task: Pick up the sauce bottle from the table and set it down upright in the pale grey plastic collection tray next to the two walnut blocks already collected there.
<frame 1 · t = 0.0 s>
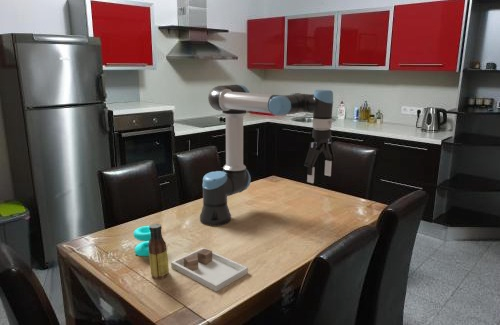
hand: (319, 178, 163), 28 cm above the table, fingers open, 13 cm apart
walnut block B: (191, 268, 145), point 1 cm above the table, touching tray
tray: (209, 272, 144), on the table
walnut block A: (205, 261, 150), point 1 cm above the table, touching tray
sauce bottle: (159, 277, 140), on the table
donuts: (147, 252, 158), on the table
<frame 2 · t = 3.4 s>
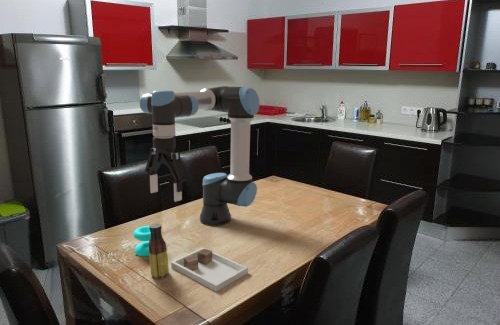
hand: (165, 196, 137), 29 cm above the table, fingers open, 13 cm apart
nothing on the table moved.
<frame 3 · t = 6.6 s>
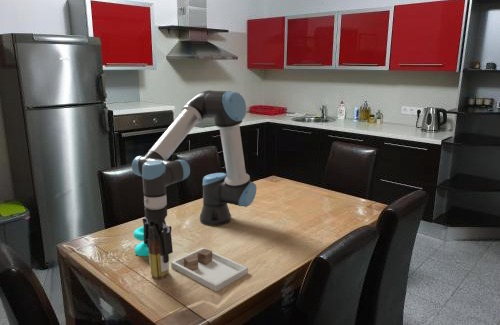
hand: (159, 266, 139), 4 cm above the table, fingers closed on sauce bottle, 6 cm apart
sauce bottle: (159, 277, 140), on the table, touching gripper
everything else where it was.
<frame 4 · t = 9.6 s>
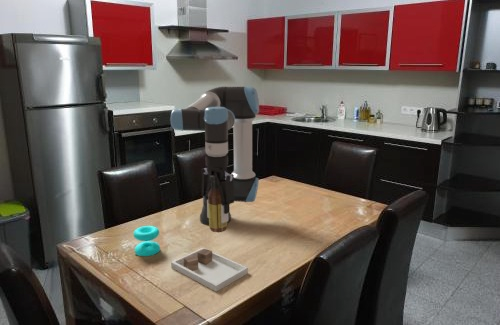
hand: (217, 218, 135), 22 cm above the table, fingers closed on sauce bottle, 6 cm apart
sauce bottle: (217, 230, 136), point 18 cm above the table, touching gripper
everything else where it was.
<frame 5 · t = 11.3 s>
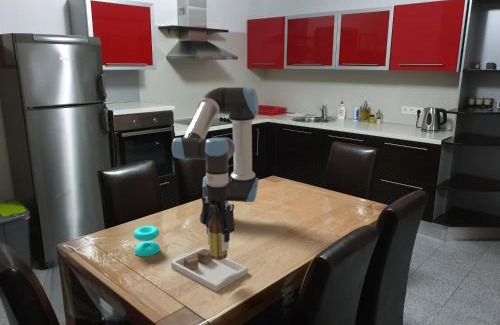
hand: (218, 246, 137), 12 cm above the table, fingers closed on sauce bottle, 6 cm apart
sauce bottle: (218, 257, 138), point 8 cm above the table, touching gripper
everything else where it was.
when the fingers open (6 cm above the table, at t = 12.9 s): sauce bottle drops 1 cm, resting on tray.
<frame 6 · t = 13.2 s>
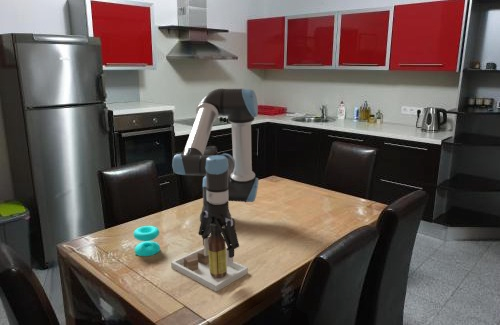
hand: (218, 259, 139), 7 cm above the table, fingers open, 10 cm apart
sauce bottle: (217, 274, 140), point 1 cm above the table, touching tray
everything else where it was.
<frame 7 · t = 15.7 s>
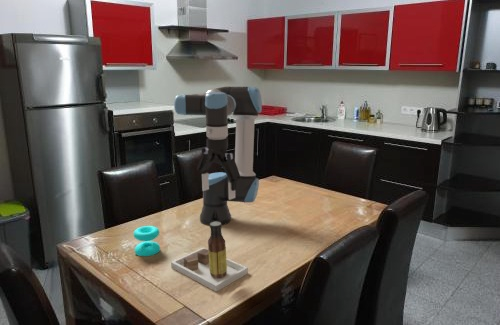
hand: (218, 194, 142), 28 cm above the table, fingers open, 13 cm apart
nothing on the table moved.
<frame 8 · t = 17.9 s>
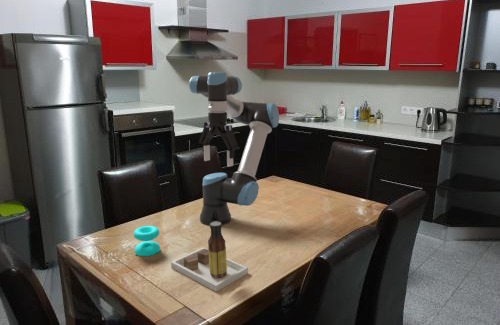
hand: (218, 163, 160), 35 cm above the table, fingers open, 13 cm apart
nothing on the table moved.
at the end: sauce bottle inside the target area on the tray (4.6 cm from its centre), point 0.6 cm above the tray's base; sauce bottle tilted 0°; the gripper is holding nothing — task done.
